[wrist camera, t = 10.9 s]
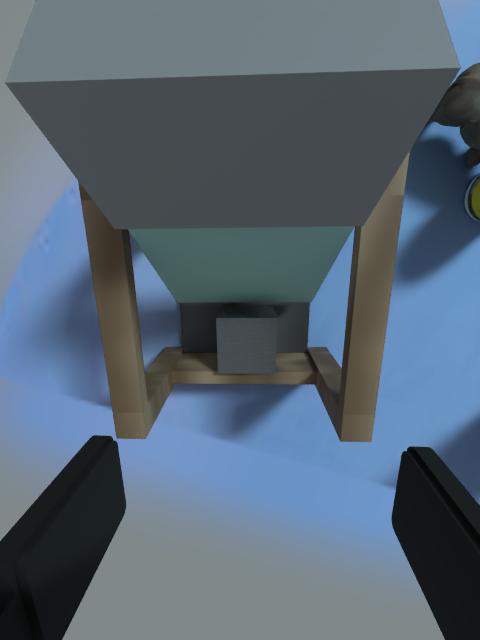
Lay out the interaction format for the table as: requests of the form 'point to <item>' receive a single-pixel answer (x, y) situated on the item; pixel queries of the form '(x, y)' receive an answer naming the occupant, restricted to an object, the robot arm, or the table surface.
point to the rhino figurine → (463, 110)
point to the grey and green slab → (234, 125)
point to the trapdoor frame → (292, 317)
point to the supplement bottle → (473, 199)
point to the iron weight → (246, 339)
